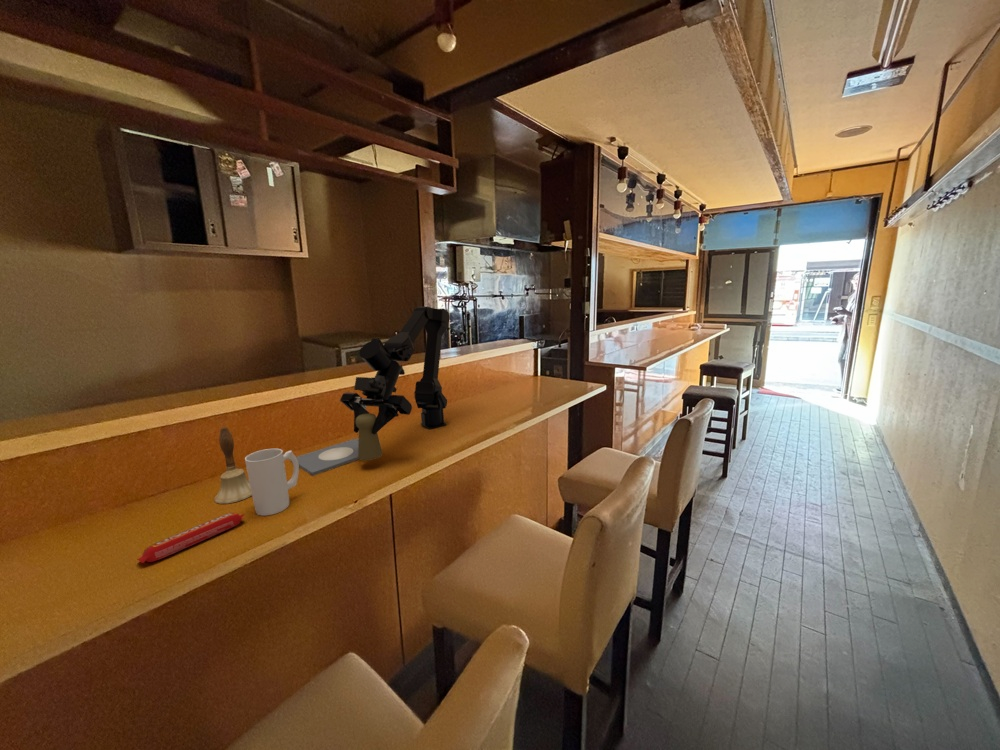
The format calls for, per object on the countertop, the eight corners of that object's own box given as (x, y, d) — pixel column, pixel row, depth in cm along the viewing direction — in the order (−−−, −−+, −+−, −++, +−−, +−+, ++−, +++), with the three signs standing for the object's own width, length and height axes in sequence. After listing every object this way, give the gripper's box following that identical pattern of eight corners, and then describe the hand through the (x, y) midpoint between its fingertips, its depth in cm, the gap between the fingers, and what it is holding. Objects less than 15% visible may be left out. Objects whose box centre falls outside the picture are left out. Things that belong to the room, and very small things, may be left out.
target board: (355, 440, 122) (355, 438, 122) (380, 451, 113) (380, 448, 112) (290, 461, 108) (290, 458, 108) (312, 475, 99) (312, 472, 99)
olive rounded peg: (360, 462, 99) (354, 420, 97) (356, 454, 104) (351, 413, 102) (384, 456, 102) (380, 415, 99) (380, 449, 107) (375, 409, 104)
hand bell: (205, 500, 88) (191, 432, 85) (241, 484, 96) (229, 420, 93) (231, 506, 85) (217, 436, 82) (266, 489, 93) (255, 423, 90)
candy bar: (239, 519, 81) (237, 505, 80) (248, 524, 79) (245, 510, 78) (136, 563, 68) (133, 547, 68) (143, 571, 66) (139, 555, 65)
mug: (264, 520, 80) (254, 464, 77) (248, 511, 83) (238, 457, 81) (311, 498, 88) (304, 446, 85) (294, 490, 91) (287, 441, 89)
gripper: (340, 362, 105) (314, 416, 97) (401, 364, 98) (379, 421, 91) (362, 384, 114) (341, 435, 106) (420, 387, 107) (401, 441, 100)
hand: (364, 433), depth 100 cm, fingers closed on olive rounded peg, 5 cm apart
